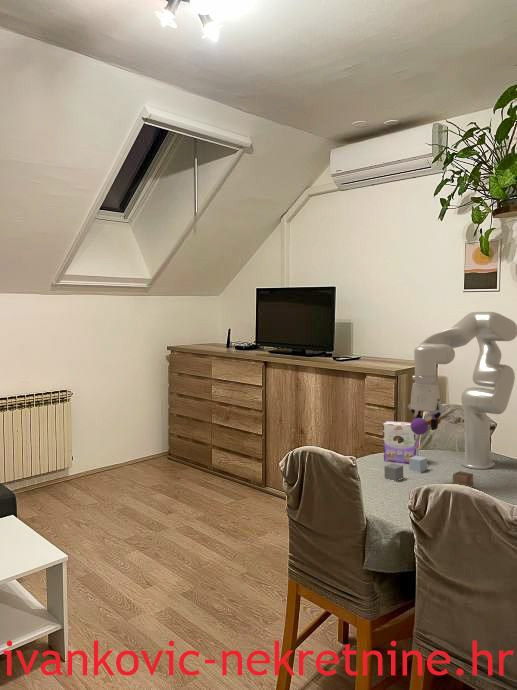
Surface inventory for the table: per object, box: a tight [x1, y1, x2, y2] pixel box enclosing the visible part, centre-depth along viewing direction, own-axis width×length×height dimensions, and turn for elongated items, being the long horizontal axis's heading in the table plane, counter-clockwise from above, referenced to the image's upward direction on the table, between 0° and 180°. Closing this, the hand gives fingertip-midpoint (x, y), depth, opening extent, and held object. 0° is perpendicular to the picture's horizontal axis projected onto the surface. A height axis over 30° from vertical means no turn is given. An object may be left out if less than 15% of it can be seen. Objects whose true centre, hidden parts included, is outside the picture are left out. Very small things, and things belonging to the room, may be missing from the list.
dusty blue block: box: [408, 455, 428, 473], centre depth 222 cm, size 5×5×5 cm
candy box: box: [382, 420, 420, 464], centre depth 234 cm, size 14×6×16 cm, turn 59°
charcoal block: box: [384, 462, 404, 482], centre depth 213 cm, size 5×5×5 cm
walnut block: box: [452, 470, 474, 487], centre depth 200 cm, size 5×5×5 cm
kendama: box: [410, 417, 442, 436], centre depth 205 cm, size 6×6×20 cm
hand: (426, 427), depth 205 cm, fingers closed on kendama, 5 cm apart
